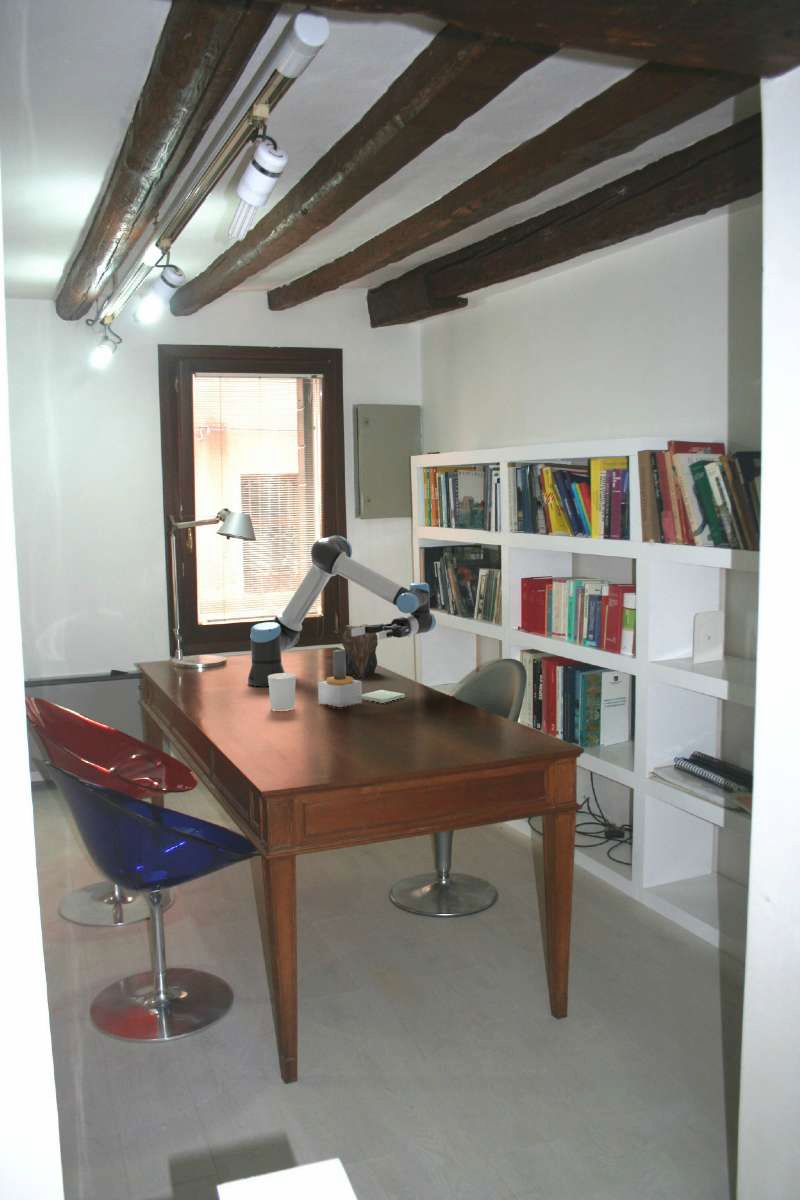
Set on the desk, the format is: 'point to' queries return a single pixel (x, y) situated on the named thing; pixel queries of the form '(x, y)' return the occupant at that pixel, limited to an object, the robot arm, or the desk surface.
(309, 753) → the desk surface
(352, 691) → the block
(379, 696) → the mat
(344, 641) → the owl
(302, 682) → the desk surface
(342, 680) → the end cover
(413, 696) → the desk surface
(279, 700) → the candle holder
